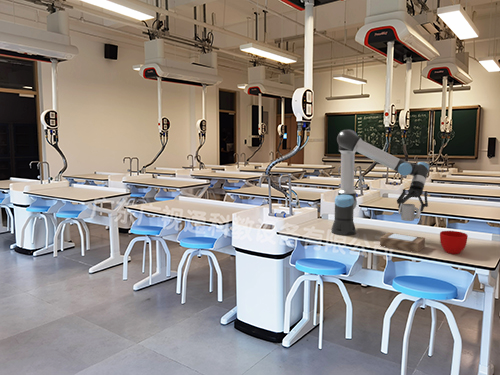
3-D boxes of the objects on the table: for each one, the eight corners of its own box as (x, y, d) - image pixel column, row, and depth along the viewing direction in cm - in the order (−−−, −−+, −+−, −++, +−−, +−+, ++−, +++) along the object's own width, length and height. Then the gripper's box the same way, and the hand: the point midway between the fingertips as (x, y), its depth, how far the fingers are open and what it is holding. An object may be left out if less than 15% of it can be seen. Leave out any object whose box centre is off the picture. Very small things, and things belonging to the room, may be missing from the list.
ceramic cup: (455, 246, 220) (456, 229, 218) (471, 256, 203) (472, 236, 202) (431, 246, 220) (432, 229, 219) (445, 255, 203) (446, 236, 202)
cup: (403, 217, 239) (403, 203, 237) (420, 220, 232) (421, 205, 231) (399, 220, 233) (400, 205, 232) (417, 222, 227) (417, 207, 226)
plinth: (379, 246, 221) (380, 237, 221) (388, 240, 232) (388, 231, 232) (417, 252, 209) (418, 242, 209) (424, 246, 220) (425, 237, 220)
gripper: (438, 189, 236) (430, 220, 225) (399, 186, 249) (390, 215, 239) (437, 181, 231) (428, 212, 221) (397, 179, 244) (387, 208, 234)
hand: (408, 214), depth 230 cm, fingers closed on cup, 10 cm apart
